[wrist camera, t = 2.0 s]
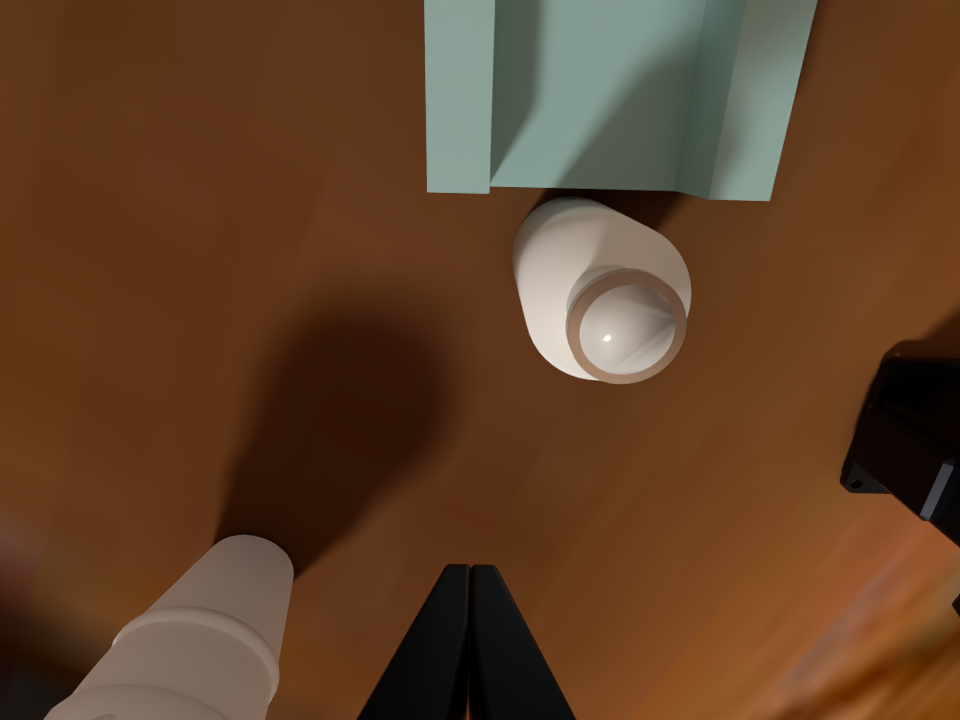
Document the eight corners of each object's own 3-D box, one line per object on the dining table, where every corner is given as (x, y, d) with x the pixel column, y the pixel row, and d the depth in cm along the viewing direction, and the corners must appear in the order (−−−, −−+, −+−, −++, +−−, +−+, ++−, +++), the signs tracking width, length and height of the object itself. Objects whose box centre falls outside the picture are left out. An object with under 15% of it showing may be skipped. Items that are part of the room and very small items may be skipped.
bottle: (634, 197, 19) (744, 236, 11) (618, 311, 20) (703, 416, 13) (514, 194, 19) (538, 231, 11) (508, 309, 20) (526, 413, 13)
